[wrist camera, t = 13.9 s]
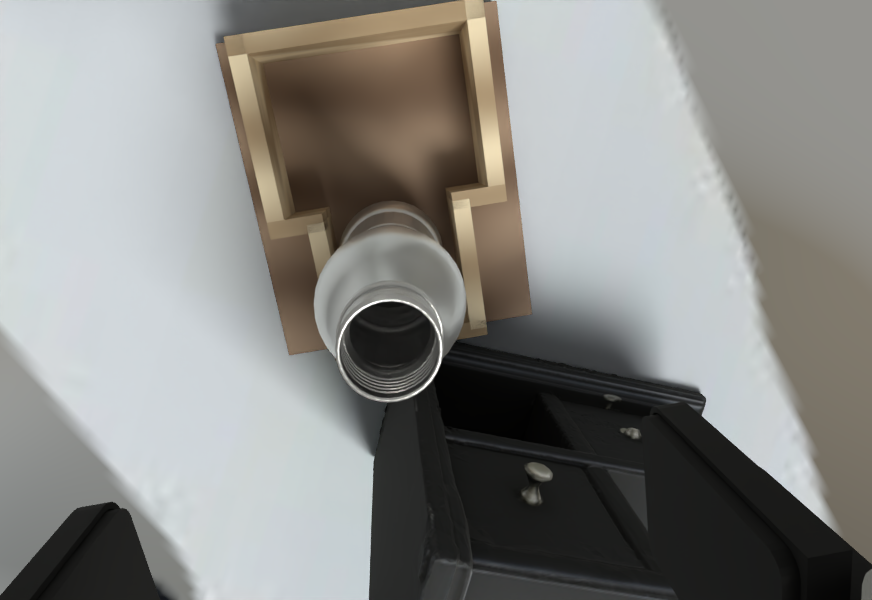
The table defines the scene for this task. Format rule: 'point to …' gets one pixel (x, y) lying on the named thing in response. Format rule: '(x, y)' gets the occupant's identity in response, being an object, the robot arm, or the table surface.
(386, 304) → the plastic bottle
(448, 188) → the keyhole plate
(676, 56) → the table surface
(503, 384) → the black drawer cabinet
